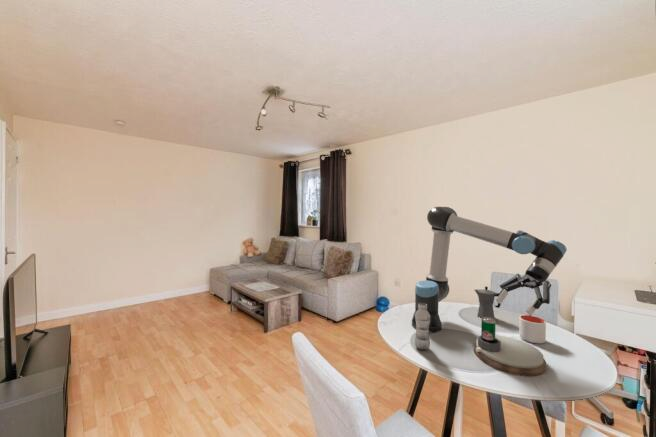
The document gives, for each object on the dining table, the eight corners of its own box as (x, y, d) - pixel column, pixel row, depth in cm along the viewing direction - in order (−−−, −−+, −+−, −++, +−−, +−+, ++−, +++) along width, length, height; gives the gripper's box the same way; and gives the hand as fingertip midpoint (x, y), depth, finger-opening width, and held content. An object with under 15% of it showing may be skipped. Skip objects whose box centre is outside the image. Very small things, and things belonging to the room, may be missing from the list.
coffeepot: (470, 315, 156) (470, 285, 156) (477, 311, 162) (478, 283, 162) (499, 324, 144) (500, 291, 144) (506, 320, 150) (506, 288, 149)
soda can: (479, 346, 111) (479, 318, 111) (483, 342, 115) (483, 315, 114) (493, 351, 108) (493, 322, 107) (496, 346, 111) (497, 318, 111)
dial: (516, 339, 122) (516, 328, 122) (559, 369, 99) (559, 355, 99) (463, 338, 122) (463, 327, 122) (493, 368, 99) (493, 354, 99)
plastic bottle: (418, 343, 123) (418, 300, 123) (432, 348, 118) (433, 304, 118) (411, 348, 119) (412, 304, 118) (426, 353, 114) (426, 308, 113)
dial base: (471, 362, 107) (471, 356, 107) (476, 338, 128) (476, 333, 128) (550, 384, 93) (550, 378, 93) (542, 353, 114) (542, 348, 114)
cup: (550, 345, 121) (550, 324, 121) (525, 343, 123) (526, 322, 123) (537, 335, 131) (538, 315, 130) (515, 333, 132) (515, 314, 132)
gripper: (577, 283, 104) (548, 325, 100) (516, 270, 128) (491, 303, 124) (568, 271, 103) (538, 312, 99) (508, 259, 127) (482, 293, 123)
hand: (512, 307), depth 112 cm, fingers open, 13 cm apart
